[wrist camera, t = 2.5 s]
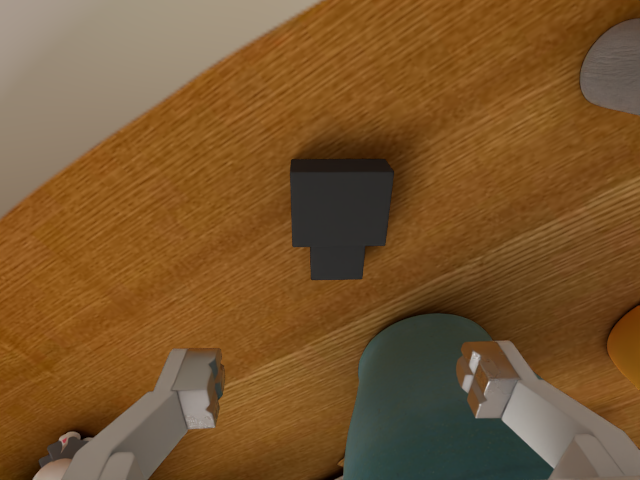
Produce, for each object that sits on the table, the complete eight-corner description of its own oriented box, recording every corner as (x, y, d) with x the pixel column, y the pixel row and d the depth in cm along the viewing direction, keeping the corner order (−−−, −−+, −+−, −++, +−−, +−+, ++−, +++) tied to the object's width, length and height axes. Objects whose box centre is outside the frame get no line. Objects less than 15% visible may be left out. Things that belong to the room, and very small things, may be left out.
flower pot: (287, 323, 29) (274, 623, 14) (510, 244, 26) (786, 516, 11) (361, 438, 37) (400, 700, 23) (533, 389, 34) (707, 651, 20)
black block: (291, 158, 22) (290, 172, 20) (385, 158, 22) (394, 171, 20) (294, 264, 26) (293, 285, 24) (374, 263, 26) (380, 283, 24)
